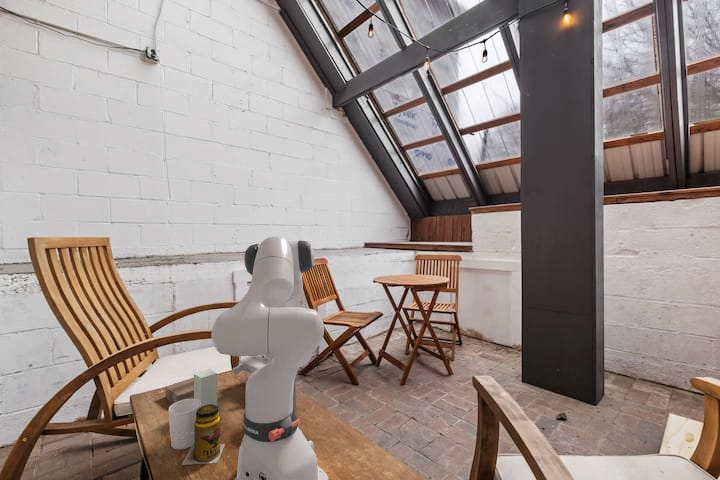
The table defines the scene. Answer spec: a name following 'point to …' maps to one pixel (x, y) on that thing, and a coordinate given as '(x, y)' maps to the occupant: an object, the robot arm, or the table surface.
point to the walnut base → (180, 391)
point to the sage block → (205, 387)
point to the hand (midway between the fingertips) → (240, 375)
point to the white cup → (183, 423)
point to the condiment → (205, 437)
